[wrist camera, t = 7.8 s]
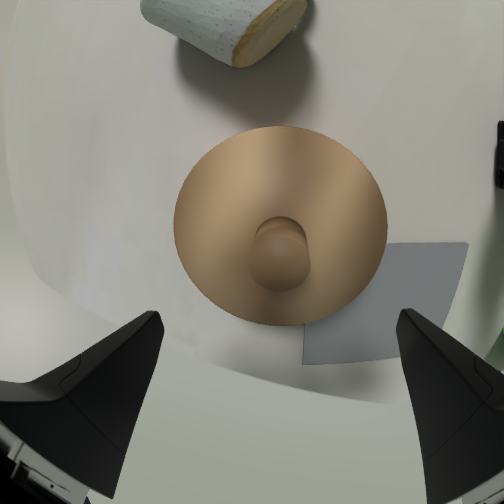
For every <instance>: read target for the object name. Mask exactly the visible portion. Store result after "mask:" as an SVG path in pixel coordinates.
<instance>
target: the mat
mask: <svg viewBox="0 0 504 504" xmlns="http://www.w3.org/2000/svg"><path fill="white" fill-rule="evenodd" d="M468 246H469V244H467V243H395V244H386V246H385V251H384V254H383V257H382V260H381V263H380V265H379V267H378V269H377V271H376V273H375V275H374V277H373V278H372V280H371V281H370V283H369V284H368V285H367V287H366V288H365V289H364V290H363V291H362V292H361V293H360V294H359V295H358V296H357V297H356V298H355V299H354V300H353V301H352V302H351V303H349V304H348V305H346V306H345V307H343V308H342V309H341V310H339V311H337V312H335V313H333V314H331V315H329V316H327V317H324V318H322V319H319V320H316V321H313V322H309V323H305V330H304V347H303V365H312V364H334V363H349V362H361V361H372V360H381V359H389V358H397V357H400V351H399V345H398V340H397V335H396V325H397V321H398V318H399V314H400V311H401V310H402V309H405V308H412V309H414V310H415V311H417V312H418V313H420V314H421V315H422V316H424V317H425V318H427V319H428V320H430V321H431V322H432V323H434V324H435V325H437V326H438V327H439V328H441V329H442V327H443V325H444V322H445V320H446V317H447V315H448V312H449V309H450V307H451V304H452V301H453V298H454V295H455V292H456V289H457V286H458V283H459V280H460V276H461V273H462V269H463V266H464V262H465V258H466V254H467V250H468Z"/></svg>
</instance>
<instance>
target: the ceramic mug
mask: <svg viewBox="0 0 504 504" xmlns="http://www.w3.org/2000/svg"><path fill="white" fill-rule="evenodd" d="M140 8H141V13H142V15H143V17H144V18H145V19H146V20H147V21H148V22H150V23H152V24H154V25H156V26H158V27H160V28H162V29H164V30H166V31H168V32H170V33H172V34H173V35H175V36H177V37H179V38H181V39H183V40H185V41H187V42H189V43H190V44H192V45H194V46H196V47H197V48H199V49H201V50H202V51H204V52H205V53H207V54H209V55H210V56H212V57H213V58H215V59H217V60H219V61H221V62H224V63H226V64H228V65H230V66H233V67H236V68H243V67H248V66H251V65H253V64H255V63H256V62H258V61H259V60H261V59H262V58H263V57H264V56H266V55H267V54H268V53H269V52H270V51H271V50H272V49H274V48H275V47H276V46H277V45H278V44H279V43H280V42H281V41H282V40H283V39H284V38H285V37H286V36H287V34H288V33H289V32H290V31H291V30H292V29H293V28H294V27H295V25H296V24H297V23H298V22H299V20H300V19H301V17H302V16H303V14H304V13H305V11H306V8H307V0H141V2H140Z"/></svg>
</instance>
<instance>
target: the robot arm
mask: <svg viewBox="0 0 504 504" xmlns="http://www.w3.org/2000/svg"><path fill="white" fill-rule="evenodd" d="M502 125H503V126H502ZM496 186H497V187H499V188H501V189H504V121H499V123H498V163H497V176H496ZM396 335H397V340H398V345H399V351H400V357H401V362H402V367H403V371H404V375H405V379H406V382H407V386H408V390H409V394H410V398H411V402H412V407H413V411H414V415H415V420H416V425H417V430H418V435H419V441H420V446H421V453H422V460H423V462H424V463H423V467H424V476H425V485H426V496H427V504H447V503H450V502H452V501H454V500H457V499H458V498H461V497H462V502H463V504H504V374H502V373H501V372H499V371H498V370H496V369H495V368H493V367H492V366H491V365H489V364H488V363H486V362H485V361H484V360H482V359H481V358H480V357H479V356H477V355H475V354H474V353H473V352H472V351H471V350H469V349H468V348H467V347H465V346H464V345H463V344H461V343H460V342H459V341H457V340H456V339H454V338H453V337H452V336H450V335H449V334H448V333H446V332H445V331H443V330H442V329H441V328H439V327H438V326H437V325H435V324H434V323H432V322H431V321H430V320H428V319H427V318H425V317H424V316H422V315H421V314H420V313H418V312H417V311H415V310H414V309H412V308H405V309H402V310H401V311H400V314H399V318H398V321H397V325H396ZM163 336H164V326H163V323H162V320H161V317H160V314H159V312H157V311H146V312H145V313H143V314H142V315H140V316H139V317H137V318H135V319H134V320H132V321H131V322H129V323H128V324H126V325H124V326H123V327H121V328H120V329H118V330H117V331H115V332H113V333H112V334H110V335H109V336H107V337H105V338H104V339H102V340H101V341H99V342H98V343H96V344H95V345H93V346H91V347H90V348H88V349H87V350H85V351H84V352H82V354H79V355H77V356H76V357H74V358H73V359H71V360H69V361H68V362H66V363H64V364H63V365H61V366H59V367H57V368H55V369H54V370H52V371H50V372H48V373H46V374H44V375H42V376H40V377H38V378H37V379H35V380H33V381H30V382H26V383H14V382H7V381H0V504H91V503H90V501H89V499H88V497H87V493H88V491H89V489H91V490H93V491H95V492H97V493H99V494H101V495H104V496H106V497H108V498H110V499H113V497H114V493H115V490H116V486H117V483H118V479H119V476H120V472H121V469H122V466H123V462H124V459H125V455H126V452H127V448H128V446H129V442H130V439H131V436H132V433H133V430H134V427H135V424H136V421H137V418H138V414H139V412H140V409H141V406H142V403H143V400H144V397H145V394H146V392H147V389H148V386H149V383H150V380H151V378H152V375H153V372H154V369H155V366H156V363H157V359H158V355H159V351H160V347H161V343H162V340H163Z"/></svg>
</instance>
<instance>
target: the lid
mask: <svg viewBox="0 0 504 504" xmlns="http://www.w3.org/2000/svg"><path fill="white" fill-rule="evenodd" d="M387 228H388V224H387V213H386V208H385V204H384V200H383V197H382V194H381V192H380V189H379V187H378V185H377V183H376V181H375V179H374V178H373V176H372V174H371V173H370V171H369V170H368V169H367V168H366V166H365V165H364V164H363V163H362V161H361V160H360V159H359V158H357V157H356V156H355V155H354V154H353V153H352V152H351V151H350V150H348V149H347V148H346V147H344V146H343V145H341V144H340V143H338V142H337V141H335V140H333V139H331V138H329V137H327V136H325V135H323V134H320V133H317V132H314V131H311V130H307V129H302V128H296V127H288V126H272V127H263V128H257V129H253V130H249V131H245V132H242V133H240V134H237V135H235V136H233V137H230V138H228V139H226V140H225V141H223V142H222V143H220V144H218V145H217V146H215V147H214V148H213V149H211V150H210V151H209V152H208V153H207V154H205V155H204V156H203V157H202V158H201V159H200V160H199V162H198V163H197V164H196V165H195V166H194V167H193V169H192V170H191V172H190V173H189V175H188V176H187V178H186V179H185V181H184V183H183V186H182V188H181V190H180V192H179V195H178V199H177V202H176V206H175V213H174V237H175V244H176V248H177V252H178V255H179V258H180V260H181V263H182V265H183V267H184V269H185V271H186V273H187V274H188V276H189V278H190V279H191V280H192V282H193V283H194V284H195V286H196V287H197V288H198V289H199V290H200V291H201V292H202V293H203V294H204V295H205V296H206V297H207V298H208V299H209V300H210V301H212V302H213V303H214V304H215V305H217V306H218V307H220V308H221V309H223V310H225V311H226V312H228V313H230V314H232V315H234V316H236V317H239V318H242V319H244V320H247V321H251V322H255V323H258V324H265V325H273V326H290V325H299V324H305V323H309V322H313V321H316V320H319V319H322V318H324V317H327V316H329V315H331V314H333V313H335V312H337V311H339V310H341V309H342V308H343V307H345V306H346V305H348V304H349V303H351V302H352V301H353V300H354V299H355V298H356V297H357V296H358V295H359V294H360V293H361V292H362V291H363V290H364V289H365V288H366V287H367V285H368V284H369V283H370V281H371V280H372V278H373V277H374V275H375V273H376V271H377V269H378V267H379V265H380V263H381V260H382V257H383V254H384V251H385V246H386V241H387Z"/></svg>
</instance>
